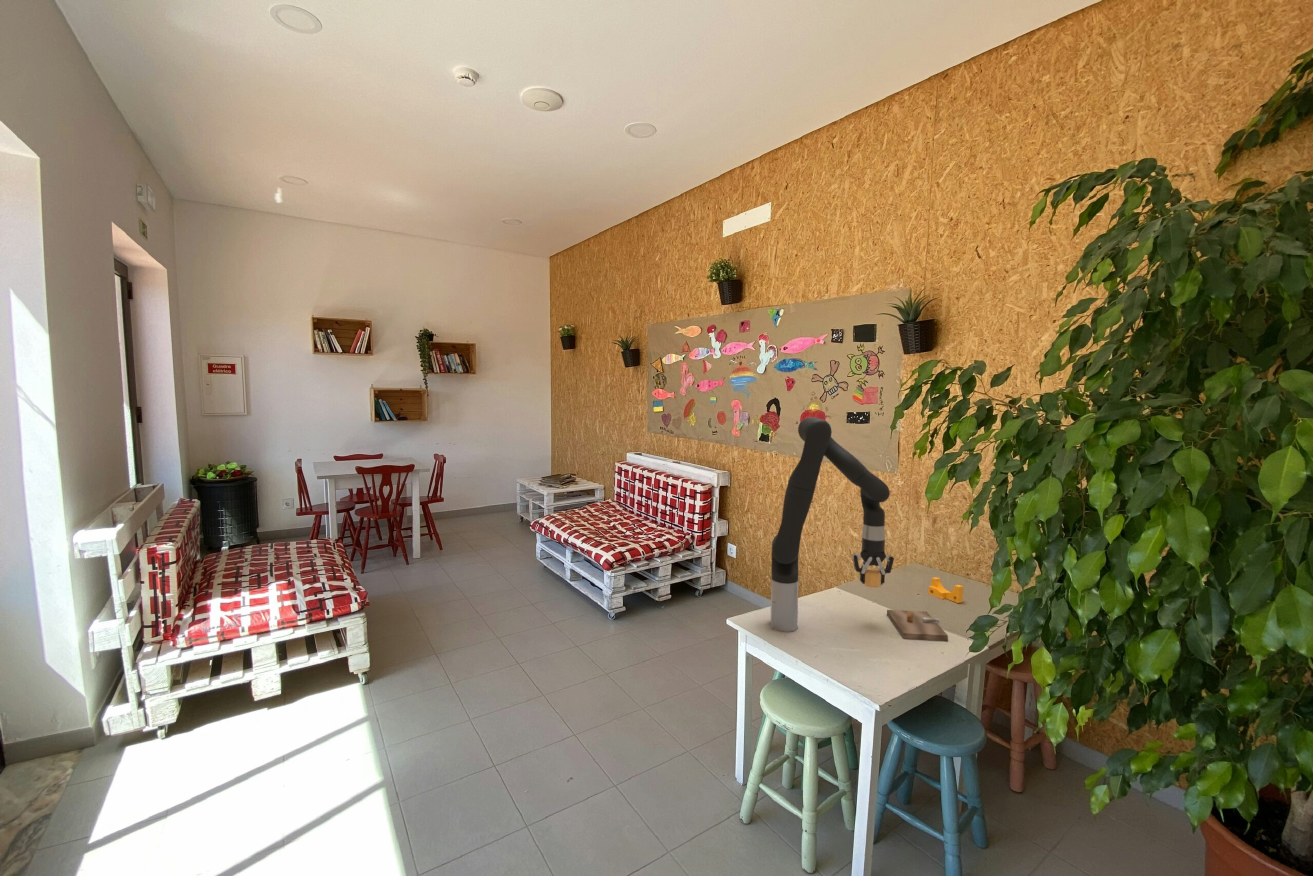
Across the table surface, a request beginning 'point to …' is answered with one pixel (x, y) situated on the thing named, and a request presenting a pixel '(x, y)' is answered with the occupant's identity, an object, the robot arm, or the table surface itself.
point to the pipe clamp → (943, 593)
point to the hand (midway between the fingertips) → (872, 583)
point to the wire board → (917, 625)
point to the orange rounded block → (872, 578)
